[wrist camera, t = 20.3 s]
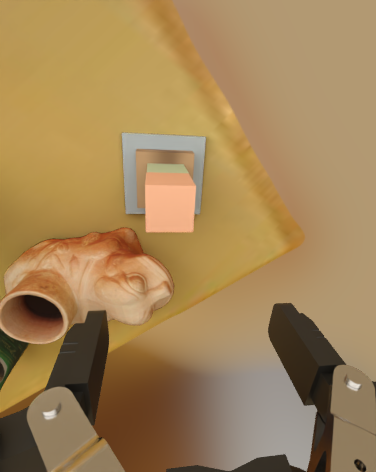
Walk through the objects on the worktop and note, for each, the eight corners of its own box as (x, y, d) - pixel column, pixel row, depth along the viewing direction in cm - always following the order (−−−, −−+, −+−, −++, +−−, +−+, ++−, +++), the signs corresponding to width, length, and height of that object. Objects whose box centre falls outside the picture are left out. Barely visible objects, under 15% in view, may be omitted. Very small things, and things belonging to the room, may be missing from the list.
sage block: (147, 163, 36) (146, 172, 31) (183, 164, 37) (189, 173, 32) (148, 198, 38) (147, 212, 33) (182, 198, 39) (187, 212, 34)
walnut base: (138, 201, 41) (137, 208, 39) (136, 148, 38) (135, 151, 35) (188, 202, 43) (191, 208, 40) (191, 150, 39) (194, 153, 37)
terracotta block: (146, 212, 33) (145, 232, 28) (146, 172, 31) (145, 185, 25) (186, 212, 34) (193, 232, 28) (188, 173, 32) (196, 186, 26)
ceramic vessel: (175, 281, 50) (184, 343, 37) (36, 308, 49) (-7, 383, 36) (161, 213, 44) (166, 258, 31) (2, 243, 43) (-65, 303, 29)
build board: (126, 211, 43) (125, 213, 42) (122, 132, 38) (121, 133, 37) (198, 211, 45) (200, 214, 44) (204, 136, 40) (205, 137, 39)
